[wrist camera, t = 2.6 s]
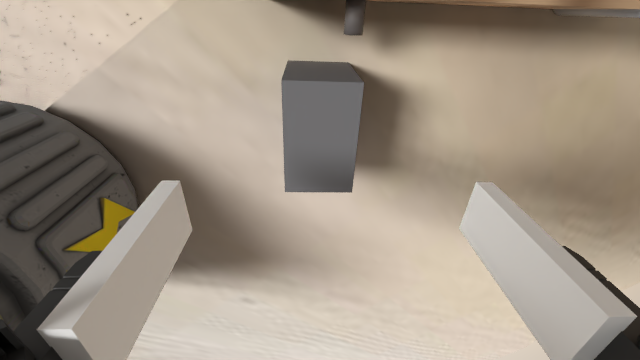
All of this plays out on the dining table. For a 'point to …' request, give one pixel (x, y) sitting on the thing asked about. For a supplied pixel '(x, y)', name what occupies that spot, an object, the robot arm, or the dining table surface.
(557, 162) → the dining table surface
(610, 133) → the dining table surface
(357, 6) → the door
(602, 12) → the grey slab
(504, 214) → the robot arm
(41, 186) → the toy tesla coil
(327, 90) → the grey rectangular block
